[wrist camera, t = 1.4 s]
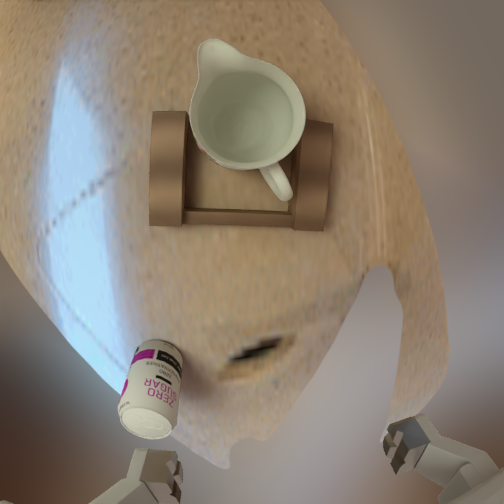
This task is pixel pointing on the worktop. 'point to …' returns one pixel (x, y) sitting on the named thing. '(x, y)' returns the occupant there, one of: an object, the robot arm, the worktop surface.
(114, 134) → the worktop surface
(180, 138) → the holder
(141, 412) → the supplement can
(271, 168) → the pitcher
